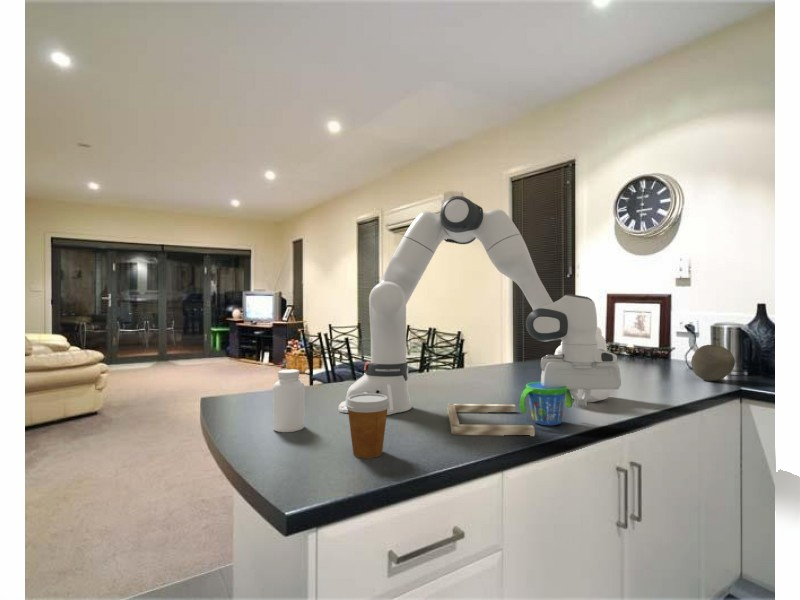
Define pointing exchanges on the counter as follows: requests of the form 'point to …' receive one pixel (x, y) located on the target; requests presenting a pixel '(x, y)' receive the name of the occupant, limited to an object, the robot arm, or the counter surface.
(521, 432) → the wooden frame
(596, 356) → the robot arm
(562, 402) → the snack cup
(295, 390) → the pill bottle
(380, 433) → the disposable coffee cup
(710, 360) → the cantaloupe
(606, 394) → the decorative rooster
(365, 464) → the counter surface
